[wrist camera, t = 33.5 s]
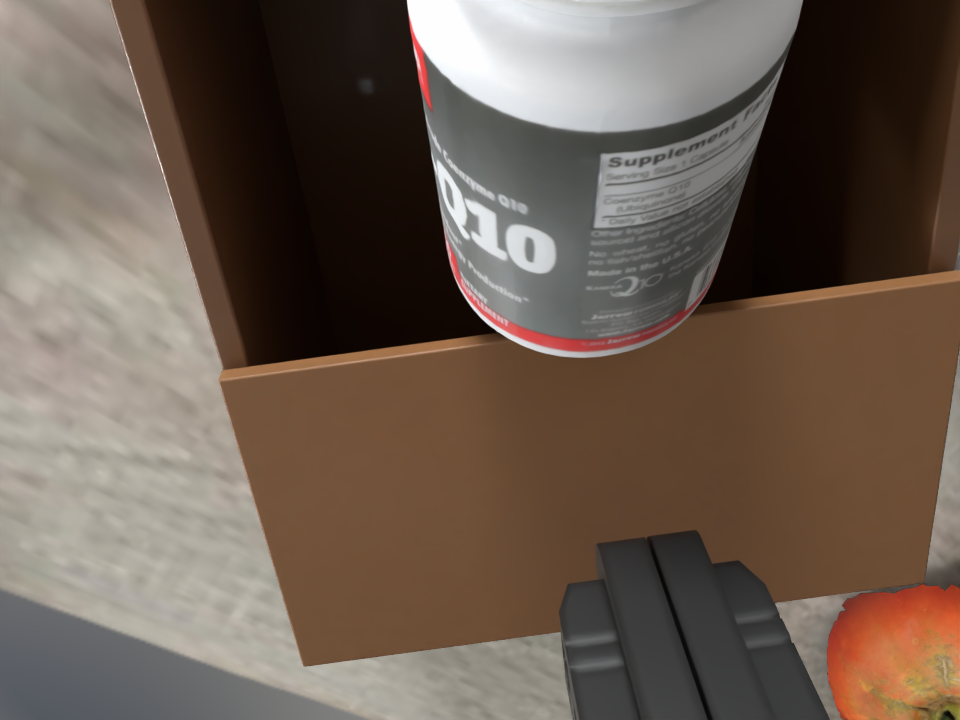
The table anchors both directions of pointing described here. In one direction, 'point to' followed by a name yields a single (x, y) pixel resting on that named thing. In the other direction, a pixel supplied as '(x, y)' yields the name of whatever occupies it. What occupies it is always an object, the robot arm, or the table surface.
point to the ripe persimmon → (897, 655)
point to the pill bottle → (593, 155)
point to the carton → (412, 184)
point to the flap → (598, 463)
